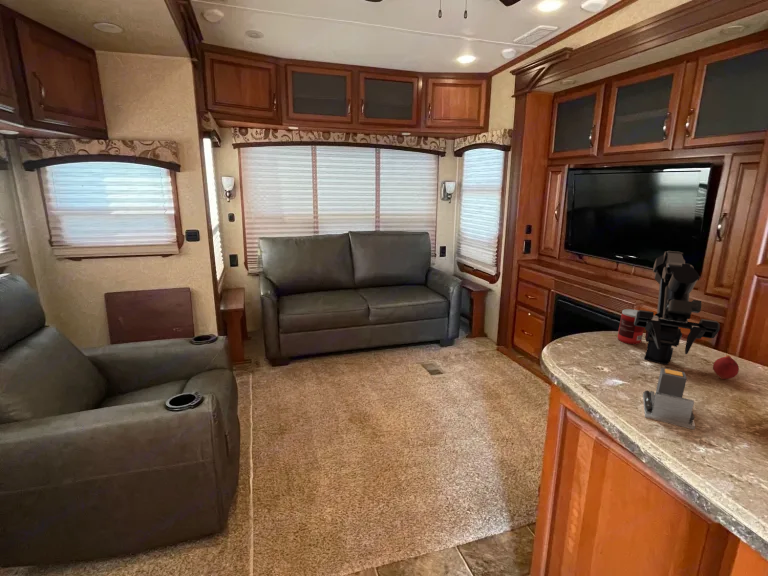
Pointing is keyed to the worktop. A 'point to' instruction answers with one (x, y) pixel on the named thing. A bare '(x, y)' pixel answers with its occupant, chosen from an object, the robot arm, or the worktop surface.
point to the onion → (726, 367)
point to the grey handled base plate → (669, 409)
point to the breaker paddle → (671, 382)
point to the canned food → (629, 328)
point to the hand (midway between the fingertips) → (672, 351)
